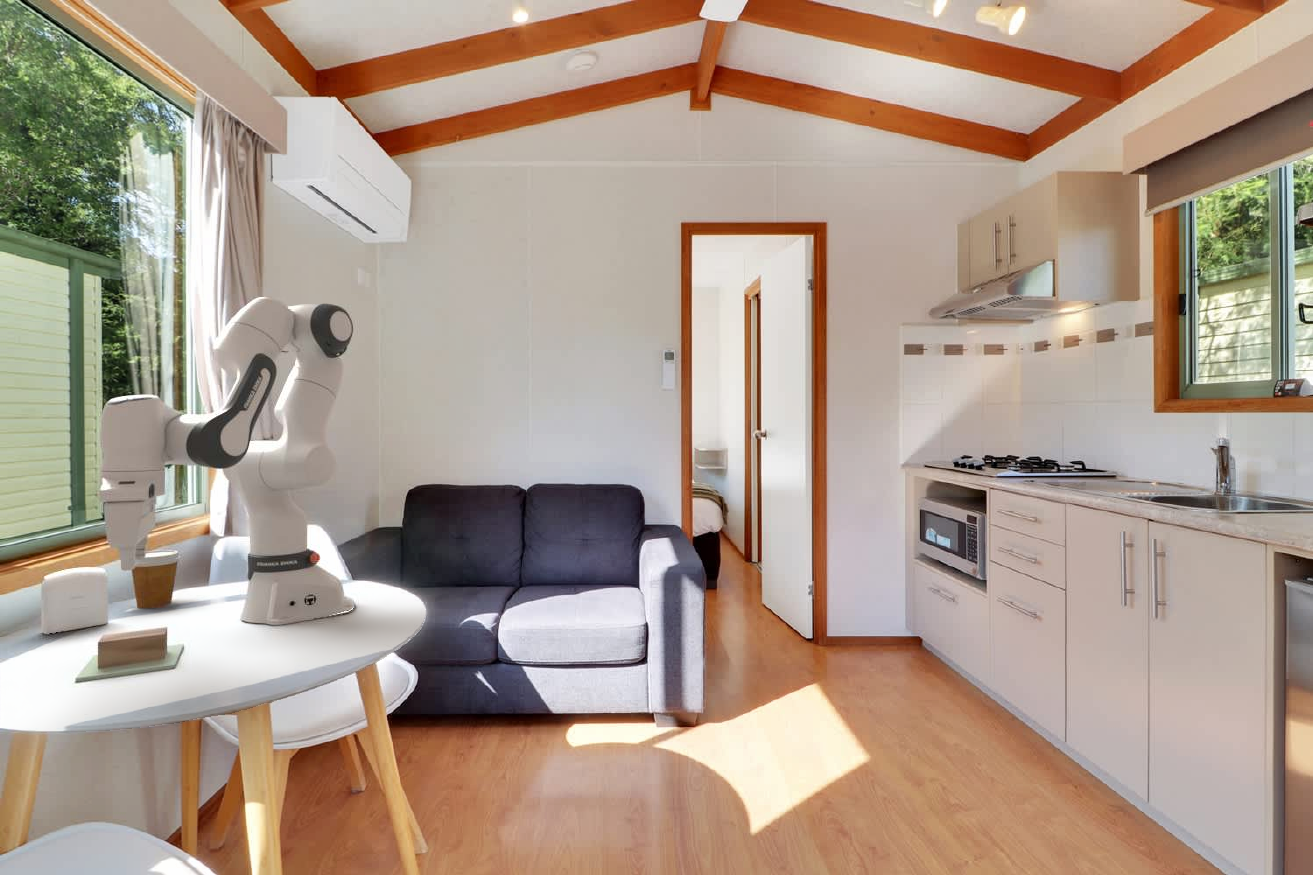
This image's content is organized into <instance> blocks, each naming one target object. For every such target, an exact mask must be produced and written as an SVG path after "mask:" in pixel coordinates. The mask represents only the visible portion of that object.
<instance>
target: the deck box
mask: <svg viewBox="0 0 1313 875" xmlns="http://www.w3.org/2000/svg"><path fill="white" fill-rule="evenodd" d="M167 646H168V626H167V627H166V626H165V627H157V628H150V629H149V628H147V629H141V630H133V631H124V632H117V633H108V634H103V635H102V636H101V638H99V640H98V641H97V655H98V669H100V668H107V667H113V666H120V665H127V664H134V663H141V662H148V661H155V660H161V659H165V656H166V653H167Z"/></svg>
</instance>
